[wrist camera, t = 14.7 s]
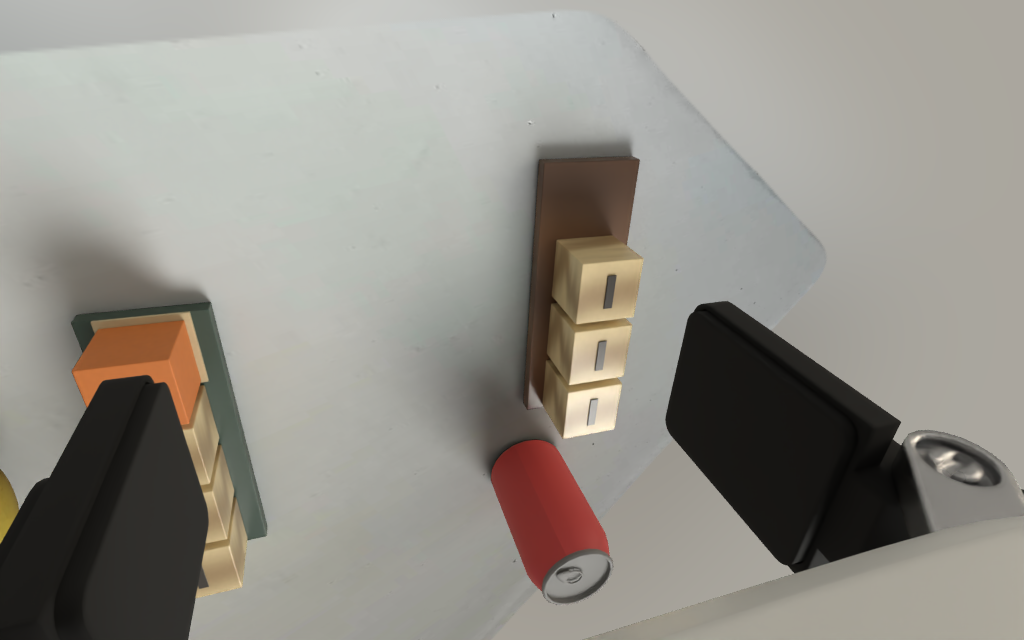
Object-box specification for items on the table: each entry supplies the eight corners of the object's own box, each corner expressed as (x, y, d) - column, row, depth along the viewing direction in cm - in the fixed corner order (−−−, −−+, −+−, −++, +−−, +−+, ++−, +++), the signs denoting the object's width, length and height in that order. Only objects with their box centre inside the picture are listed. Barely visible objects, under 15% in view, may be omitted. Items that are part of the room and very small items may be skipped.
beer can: (514, 427, 47) (570, 541, 37) (571, 445, 50) (637, 554, 40) (475, 483, 49) (518, 606, 39) (532, 497, 52) (586, 614, 42)
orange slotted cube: (97, 328, 31) (70, 372, 28) (184, 319, 33) (169, 359, 29) (121, 391, 33) (98, 439, 30) (201, 380, 35) (189, 425, 31)
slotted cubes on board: (538, 159, 36) (572, 181, 32) (633, 156, 38) (677, 176, 34) (522, 402, 46) (546, 446, 41) (598, 390, 48) (629, 430, 43)
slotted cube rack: (76, 314, 32) (38, 366, 27) (211, 301, 34) (196, 347, 29) (167, 547, 41) (150, 613, 37) (267, 526, 44) (263, 587, 39)
